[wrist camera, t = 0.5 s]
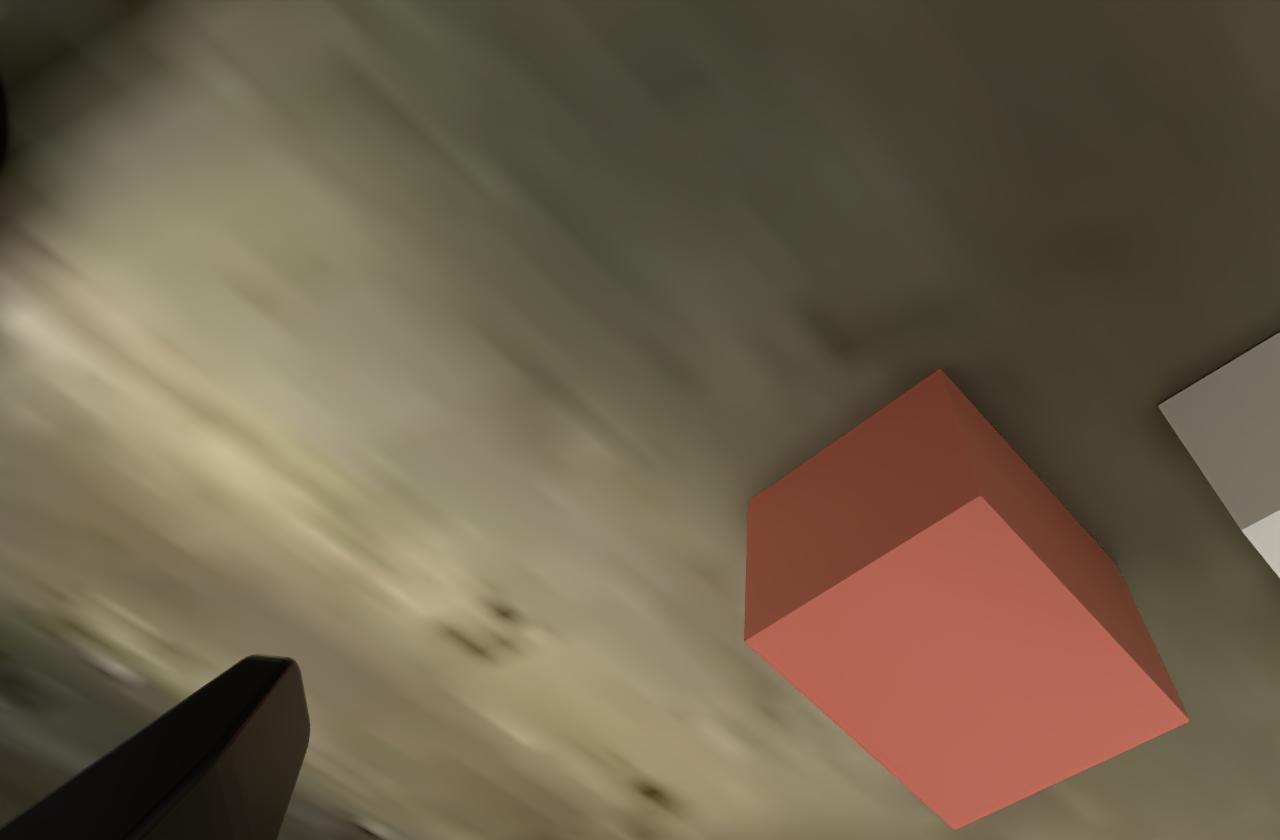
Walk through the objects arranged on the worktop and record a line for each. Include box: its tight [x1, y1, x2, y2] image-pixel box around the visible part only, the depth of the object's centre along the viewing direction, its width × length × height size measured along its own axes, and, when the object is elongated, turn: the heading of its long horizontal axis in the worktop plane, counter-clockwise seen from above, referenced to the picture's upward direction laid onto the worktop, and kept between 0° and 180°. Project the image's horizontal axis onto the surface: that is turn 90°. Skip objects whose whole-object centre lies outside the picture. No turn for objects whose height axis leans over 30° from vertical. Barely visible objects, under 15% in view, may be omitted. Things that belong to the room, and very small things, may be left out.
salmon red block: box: [744, 368, 1190, 830], centre depth 22 cm, size 7×6×5 cm
